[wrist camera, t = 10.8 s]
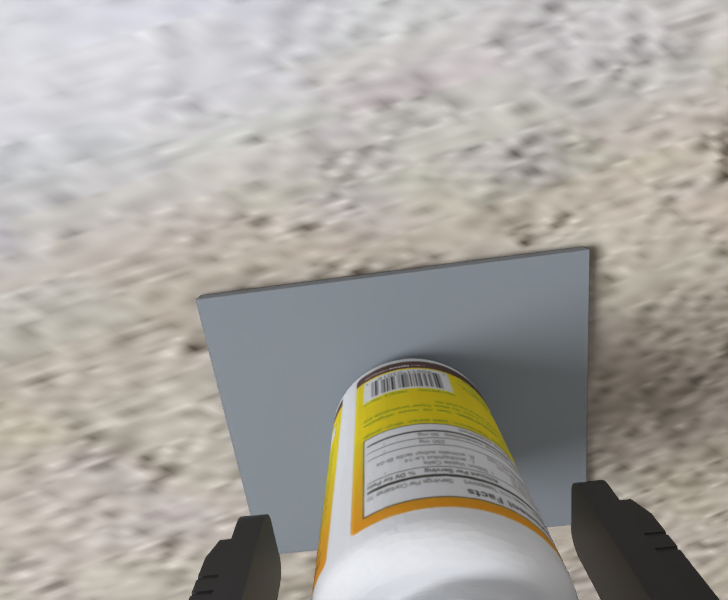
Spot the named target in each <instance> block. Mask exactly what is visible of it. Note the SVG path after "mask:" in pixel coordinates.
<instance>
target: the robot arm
mask: <svg viewBox="0 0 728 600" xmlns="http://www.w3.org/2000/svg"><path fill="white" fill-rule="evenodd" d="M571 533H572V539H573V543H574V546H575V549H576V552H577V554H578V557H579V559H580V561H581V563H582V564H583V566H584V568H585V570H586V572H587V574H588V576H589V578H590V580H591V582H592V583H593V585H594V587H595V589H596V591H597V593H598V595H599V597H600V599H601V600H719V599H718V597H717V596H716V595H715V593H714V592H713V591H712V590H711V588H710V587H709V586H708V585H707V583H706V582H705V581H704V580H703V578H702V577H701V576H700V574H699V573H698V572H697V571H696V569H695V568H694V567H693V566H692V564H691V563H690V562H689V561H688V559H687V558H686V557H685V556H684V554H683V553H682V552H681V550H678V548H677V545H676V544H675V543H674V542H673V540H672V539H671V538H670V537H669V535H666V532H665V530H664V529H663V528H662V526H661V525H660V524H659V523H658V521H657V520H656V519H655V518H654V516H653V515H652V514H651V513H650V512H648V511H647V510H646V509H644V508H643V507H641V506H640V505H639V504H637V503H636V502H634V501H633V500H631V499H627V500H619V499H618V497H617V496H616V495H615V493H614V492H613V491H612V489H611V488H610V486H609V485H608V484H607V483H606V482H605V481H604V480H597V481H587V482H578V483H573V484H572V488H571ZM280 581H281V562H280V556H279V552H278V547H277V543H276V539H275V535H274V530H273V526H272V522H271V518H270V516H269V515H268V514H262V515H253V516H243V517H240V518H239V519H238V521H237V524H236V527H235V530H234V533H233V535H232V538H231V539H226V540H220V541H219V542H218V543H217V544H216V546H215V547H214V548H213V549H212V550H211V552H210V553H209V554H208V555H207V556H206V558H205V560H204V563H203V565H202V568H201V571H200V573H199V576H198V580H197V581H196V583H195V586H194V588H193V591H192V596H190V598H189V600H277V597H278V592H279V587H280Z"/></svg>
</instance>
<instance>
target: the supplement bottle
mask: <svg viewBox="0 0 728 600" xmlns="http://www.w3.org/2000/svg"><path fill="white" fill-rule="evenodd" d="M311 600H578V596H577V593H576V590H575V587H574V585H573V583H572V580H571V578H570V575H569V573H568V571H567V569H566V567H565V565H564V563H563V560H562V558H561V556H560V554H559V552H558V550H557V548H556V546H555V544H554V542H553V540H552V538H551V536H550V534H549V532H548V530H547V528H546V526H545V524H544V522H543V520H542V518H541V516H540V513H539V511H538V509H537V507H536V505H535V503H534V501H533V499H532V497H531V495H530V493H529V491H528V489H527V486H526V485H525V482H524V480H523V478H522V476H521V474H520V472H519V470H518V468H517V466H516V464H515V462H514V460H513V458H512V456H511V454H510V452H509V450H508V447H507V445H506V443H505V441H504V439H503V437H502V435H501V433H500V431H499V429H498V427H497V425H496V423H495V421H494V418H493V416H492V414H491V412H490V410H489V408H488V406H487V404H486V402H485V400H484V398H483V397H482V395H481V394H480V392H479V391H478V390H477V388H476V387H475V386H474V385H473V383H472V382H471V381H470V380H469V379H467V378H466V377H465V376H464V375H462V374H461V373H460V372H458V371H456V370H455V369H453V368H451V367H449V366H447V365H444V364H442V363H439V362H436V361H431V360H426V359H413V358H410V359H401V360H395V361H391V362H387V363H384V364H382V365H379V366H377V367H375V368H373V369H371V370H369V371H368V372H366V373H365V374H363V375H362V376H361V377H360V378H358V379H357V380H356V381H355V382H354V383H353V384H352V385H351V386H350V388H349V389H348V390H347V392H346V393H345V394H344V396H343V398H342V399H341V401H340V403H339V406H338V408H337V411H336V415H335V419H334V425H333V431H332V440H331V450H330V458H329V465H328V473H327V479H326V488H325V496H324V504H323V512H322V521H321V528H320V536H319V544H318V552H317V560H316V568H315V576H314V584H313V592H312V599H311Z"/></svg>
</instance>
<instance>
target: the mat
mask: <svg viewBox="0 0 728 600" xmlns="http://www.w3.org/2000/svg"><path fill="white" fill-rule="evenodd" d="M196 303H197V307H198V311H199V315H200V319H201V323H202V327H203V331H204V334H205V338H206V342H207V346H208V350H209V354H210V358H211V362H212V366H213V370H214V374H215V378H216V381H217V385H218V389H219V393H220V397H221V401H222V405H223V409H224V413H225V417H226V421H227V424H228V428H229V432H230V436H231V440H232V444H233V448H234V452H235V456H236V460H237V464H238V468H239V471H240V475H241V479H242V483H243V487H244V491H245V495H246V499H247V503H248V507H249V511H250V514H251V516H253V515H262V514H268V515H269V516H270V518H271V522H272V526H273V530H274V535H275V539H276V543H277V547H278V552H279V554H283V553H293V552H303V551H313V550H318V544H319V536H320V528H321V521H322V512H323V504H324V496H325V488H326V479H327V473H328V465H329V458H330V450H331V440H332V431H333V425H334V419H335V415H336V411H337V408H338V406H339V403H340V401H341V399H342V398H343V396H344V394H345V393H346V392H347V390H348V389H349V388H350V386H351V385H352V384H353V383H354V382H355V381H356V380H357V379H358V378H360V377H361V376H362V375H363V374H365V373H366V372H368V371H369V370H371V369H373V368H375V367H377V366H379V365H382V364H384V363H387V362H391V361H395V360H401V359H410V358H413V359H426V360H431V361H436V362H439V363H442V364H444V365H447V366H449V367H451V368H453V369H455V370H456V371H458V372H460V373H461V374H462V375H464V376H465V377H466V378H467V379H469V380H470V381H471V382H472V383H473V385H474V386H475V387H476V388H477V390H478V391H479V392H480V394H481V395H482V397H483V398H484V400H485V402H486V404H487V406H488V408H489V410H490V412H491V414H492V416H493V418H494V421H495V423H496V425H497V427H498V429H499V431H500V433H501V435H502V437H503V439H504V441H505V443H506V445H507V447H508V450H509V452H510V454H511V456H512V458H513V460H514V462H515V464H516V466H517V468H518V470H519V472H520V474H521V476H522V478H523V480H524V482H525V485H526V486H527V489H528V491H529V493H530V495H531V497H532V499H533V501H534V503H535V505H536V507H537V509H538V511H539V513H540V516H541V518H542V520H543V522H544V524H545V526H546V527H553V526H563V525H571V488H572V484H573V483H578V482H586V458H587V384H588V311H589V249H587V248H584V247H576V248H568V249H560V250H552V251H544V252H536V253H529V254H521V255H513V256H505V257H497V258H489V259H482V260H474V261H466V262H458V263H450V264H443V265H435V266H427V267H419V268H411V269H403V270H396V271H388V272H380V273H372V274H364V275H356V276H349V277H341V278H333V279H325V280H317V281H309V282H302V283H294V284H286V285H278V286H270V287H262V288H255V289H247V290H239V291H231V292H223V293H216V294H208V295H201V296H199V297H198V298H197V299H196Z"/></svg>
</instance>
